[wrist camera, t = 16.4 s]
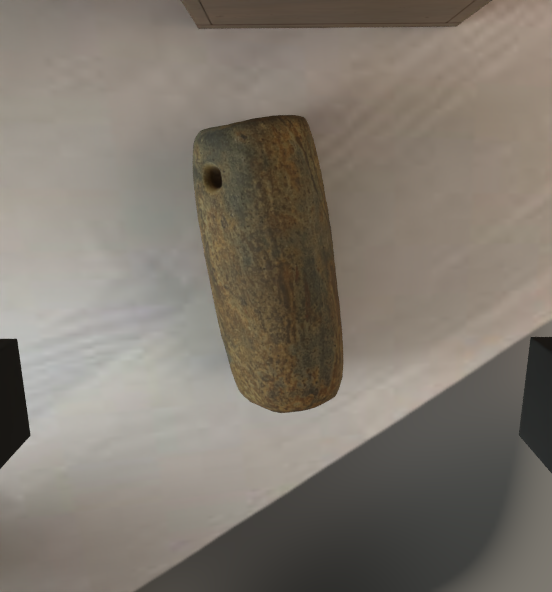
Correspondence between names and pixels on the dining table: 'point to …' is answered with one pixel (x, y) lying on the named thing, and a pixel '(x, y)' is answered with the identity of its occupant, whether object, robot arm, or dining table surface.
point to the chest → (330, 13)
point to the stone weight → (270, 260)
